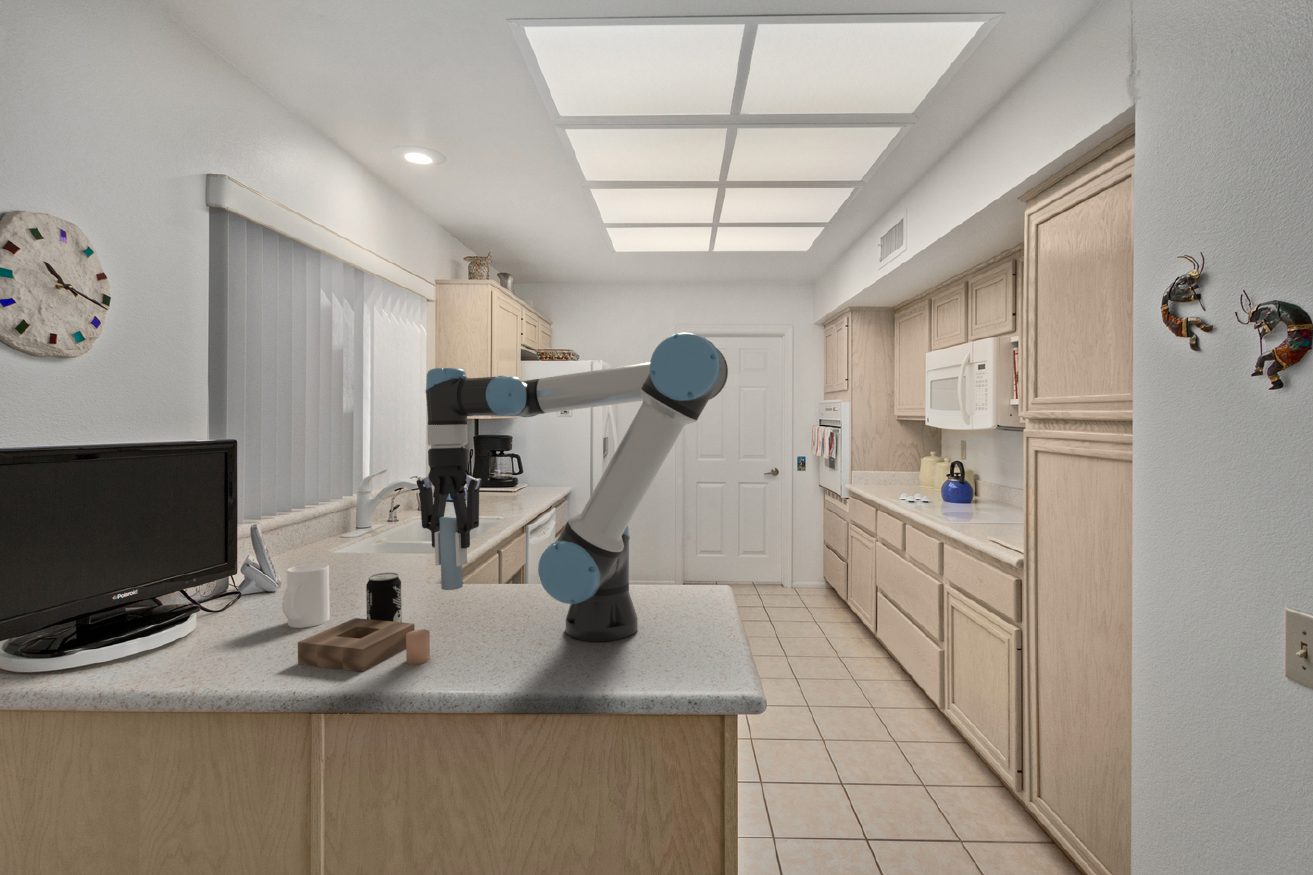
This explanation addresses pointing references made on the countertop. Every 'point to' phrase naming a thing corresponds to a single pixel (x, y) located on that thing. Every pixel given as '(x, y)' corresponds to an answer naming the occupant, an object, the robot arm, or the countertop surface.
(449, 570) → the long dowel
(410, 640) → the short dowel
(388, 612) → the beverage can
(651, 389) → the robot arm
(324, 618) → the mug
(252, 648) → the countertop surface
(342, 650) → the hole block
